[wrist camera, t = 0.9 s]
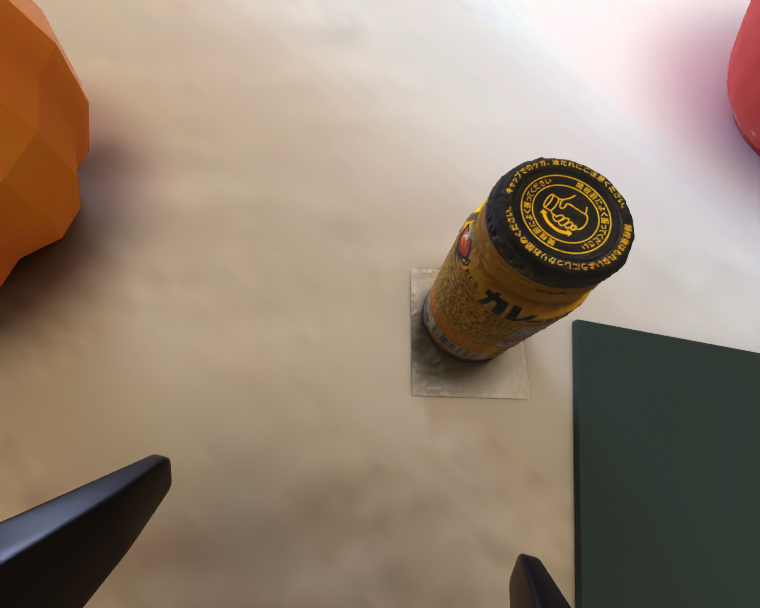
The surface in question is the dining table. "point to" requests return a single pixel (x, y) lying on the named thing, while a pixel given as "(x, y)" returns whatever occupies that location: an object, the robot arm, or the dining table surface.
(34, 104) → the decorative pumpkin
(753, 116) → the mixing bowl
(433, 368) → the condiment
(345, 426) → the dining table surface
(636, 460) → the placemat
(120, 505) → the robot arm
